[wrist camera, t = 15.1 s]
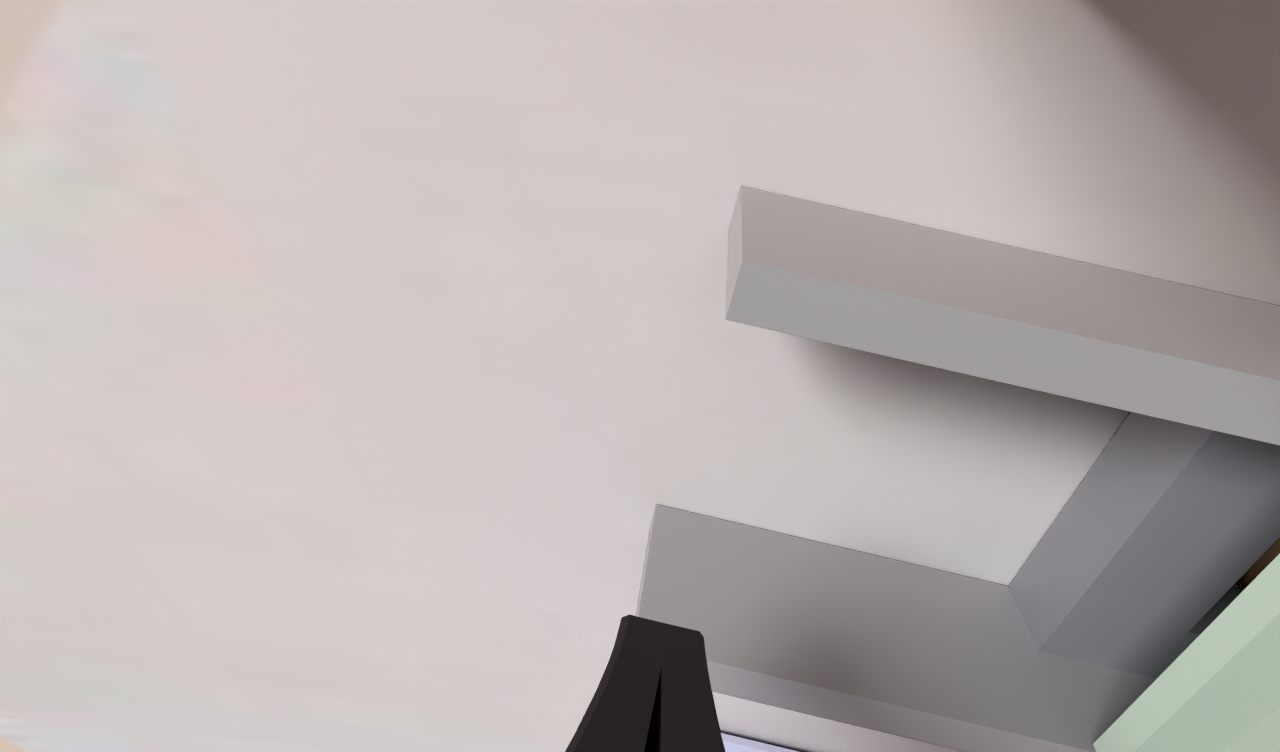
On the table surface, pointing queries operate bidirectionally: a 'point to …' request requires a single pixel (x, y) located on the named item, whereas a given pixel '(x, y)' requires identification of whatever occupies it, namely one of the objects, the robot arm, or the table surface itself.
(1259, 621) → the lid
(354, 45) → the table surface
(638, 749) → the robot arm
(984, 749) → the housing
